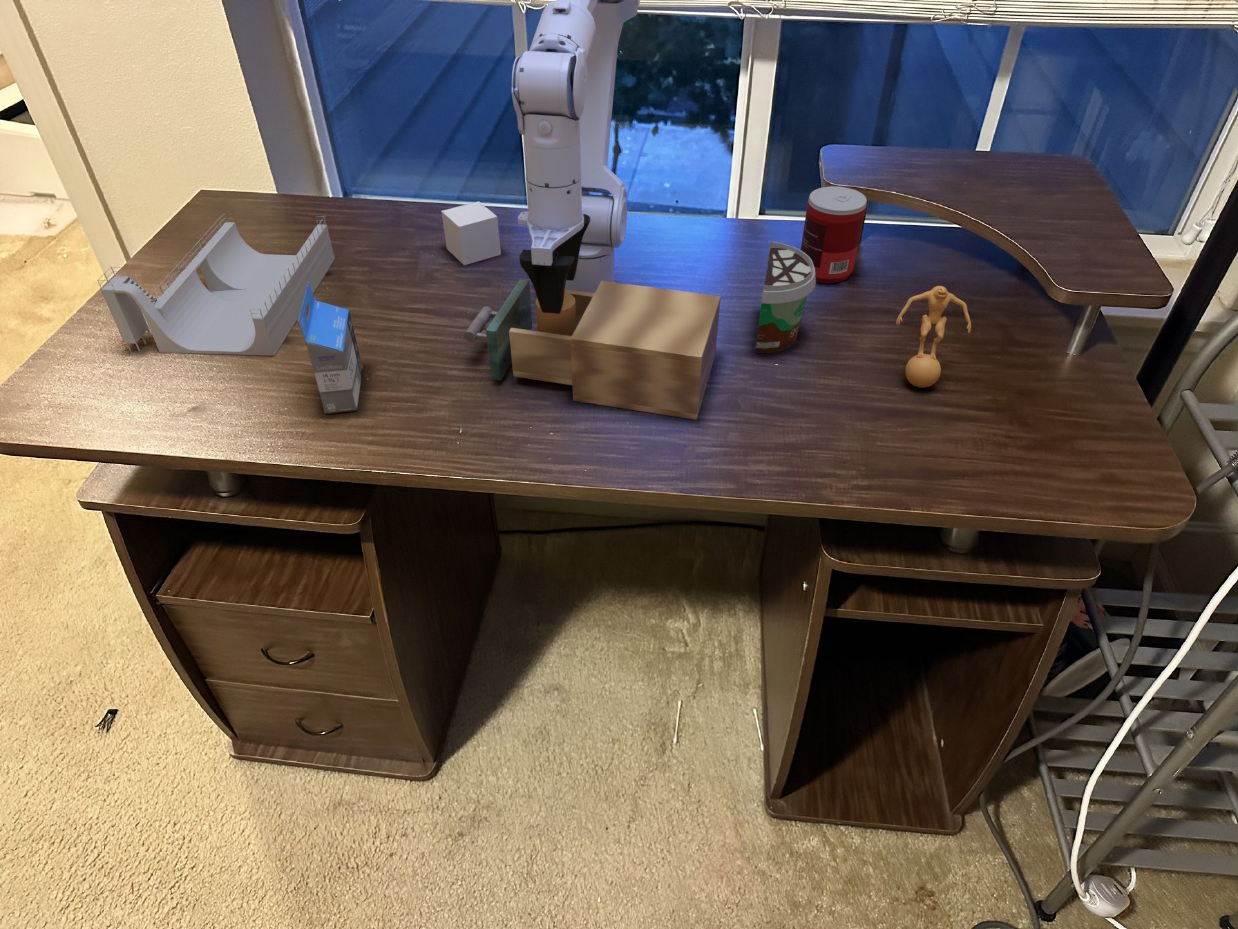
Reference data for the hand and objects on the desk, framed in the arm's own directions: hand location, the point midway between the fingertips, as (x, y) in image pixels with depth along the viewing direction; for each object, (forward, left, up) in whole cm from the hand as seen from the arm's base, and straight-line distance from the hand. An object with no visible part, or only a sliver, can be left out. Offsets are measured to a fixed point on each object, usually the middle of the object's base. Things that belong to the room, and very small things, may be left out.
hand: (558, 294), depth 97 cm
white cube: (-33, +3, -11) cm, 35 cm away
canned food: (-2, +44, -11) cm, 45 cm away
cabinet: (+7, +8, -11) cm, 15 cm away
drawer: (-3, -1, -10) cm, 10 cm away
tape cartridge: (-9, -24, -11) cm, 28 cm away
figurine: (+24, +36, -11) cm, 44 cm away
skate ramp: (-36, -30, -11) cm, 48 cm away
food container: (+8, +28, -11) cm, 31 cm away
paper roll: (-1, 0, -9) cm, 9 cm away
